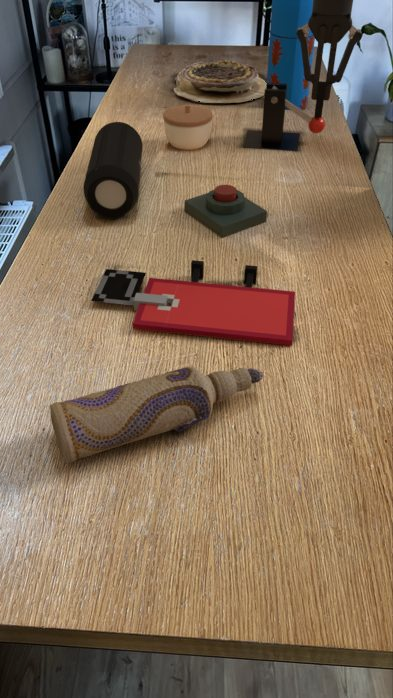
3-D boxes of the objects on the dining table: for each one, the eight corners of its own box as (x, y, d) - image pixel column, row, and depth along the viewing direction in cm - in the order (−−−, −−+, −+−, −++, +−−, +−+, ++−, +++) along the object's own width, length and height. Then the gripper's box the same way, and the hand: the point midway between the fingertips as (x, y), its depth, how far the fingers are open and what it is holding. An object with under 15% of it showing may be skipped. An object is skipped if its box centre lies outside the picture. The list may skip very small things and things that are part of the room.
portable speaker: (140, 223, 107) (135, 170, 101) (85, 224, 107) (77, 172, 100) (144, 163, 126) (141, 116, 120) (98, 164, 126) (92, 117, 120)
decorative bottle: (67, 479, 65) (57, 439, 60) (53, 431, 70) (43, 391, 66) (275, 413, 72) (280, 373, 68) (249, 374, 77) (251, 334, 73)
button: (240, 199, 106) (241, 190, 105) (222, 205, 104) (223, 196, 103) (227, 191, 109) (227, 182, 107) (209, 197, 107) (209, 188, 106)
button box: (266, 221, 107) (268, 201, 105) (222, 238, 103) (222, 217, 100) (227, 196, 115) (227, 177, 112) (184, 211, 110) (183, 191, 108)
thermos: (256, 105, 153) (263, -6, 136) (283, 95, 158) (293, -12, 142) (288, 115, 147) (299, 1, 130) (315, 105, 152) (329, -6, 136)
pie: (233, 67, 177) (234, 49, 174) (290, 92, 160) (292, 73, 157) (151, 83, 166) (150, 65, 163) (203, 112, 149) (203, 92, 146)
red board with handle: (109, 267, 96) (82, 325, 85) (108, 252, 94) (79, 310, 83) (294, 284, 92) (291, 348, 81) (297, 269, 90) (293, 332, 80)
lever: (318, 133, 131) (328, 119, 129) (317, 139, 128) (328, 125, 126) (266, 96, 128) (275, 81, 126) (264, 101, 125) (274, 87, 123)
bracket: (299, 139, 136) (305, 80, 127) (296, 156, 129) (303, 96, 120) (247, 135, 138) (250, 78, 129) (242, 153, 130) (245, 93, 122)
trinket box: (167, 159, 128) (165, 115, 122) (162, 140, 136) (160, 98, 130) (216, 155, 129) (216, 112, 123) (207, 137, 137) (207, 95, 131)
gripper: (298, -8, 109) (286, 119, 125) (370, -6, 108) (348, 123, 123) (300, -16, 115) (288, 107, 131) (369, -14, 113) (348, 110, 129)
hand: (318, 114), depth 127 cm, fingers closed
